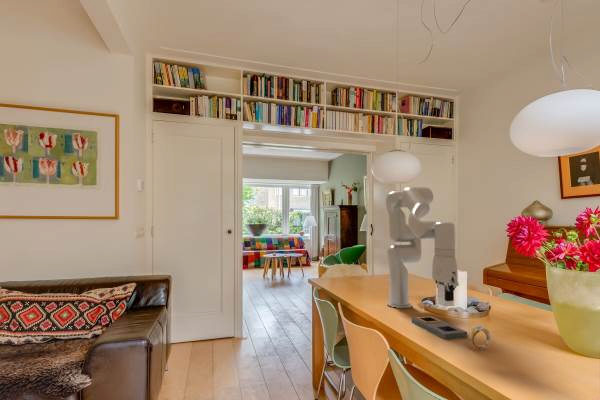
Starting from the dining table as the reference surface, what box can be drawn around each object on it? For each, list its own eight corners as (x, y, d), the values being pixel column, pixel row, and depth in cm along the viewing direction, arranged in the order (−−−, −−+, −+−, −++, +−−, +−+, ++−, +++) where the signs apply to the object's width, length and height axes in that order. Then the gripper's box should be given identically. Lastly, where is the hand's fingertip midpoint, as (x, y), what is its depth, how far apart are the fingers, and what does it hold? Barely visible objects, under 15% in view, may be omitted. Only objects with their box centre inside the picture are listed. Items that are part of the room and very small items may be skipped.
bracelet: (487, 347, 118) (486, 323, 119) (493, 350, 115) (492, 326, 115) (468, 347, 118) (467, 324, 118) (473, 351, 115) (472, 327, 115)
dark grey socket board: (411, 322, 147) (411, 316, 147) (431, 320, 149) (431, 315, 149) (444, 339, 126) (444, 333, 126) (467, 337, 128) (467, 331, 128)
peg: (438, 303, 134) (437, 283, 134) (446, 303, 135) (446, 283, 135) (444, 306, 130) (444, 285, 131) (453, 305, 131) (453, 285, 132)
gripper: (423, 251, 141) (424, 295, 140) (450, 255, 125) (452, 305, 124) (439, 250, 143) (440, 293, 142) (468, 255, 126) (469, 304, 126)
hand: (445, 298), depth 133 cm, fingers closed on peg, 4 cm apart
